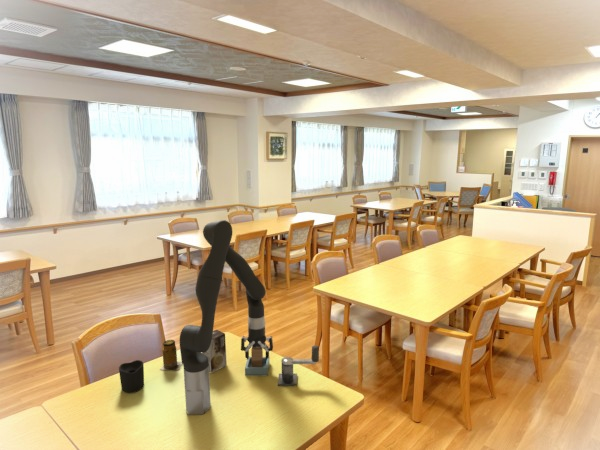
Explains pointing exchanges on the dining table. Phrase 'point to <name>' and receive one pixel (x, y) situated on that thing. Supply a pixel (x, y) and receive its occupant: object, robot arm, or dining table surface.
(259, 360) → the block
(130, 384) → the pen holder
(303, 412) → the dining table surface
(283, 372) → the crank pedestal
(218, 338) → the coffee box
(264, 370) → the tray
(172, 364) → the condiment
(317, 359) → the crank lever
